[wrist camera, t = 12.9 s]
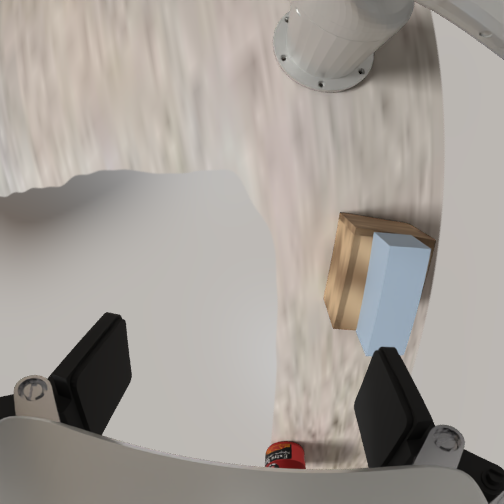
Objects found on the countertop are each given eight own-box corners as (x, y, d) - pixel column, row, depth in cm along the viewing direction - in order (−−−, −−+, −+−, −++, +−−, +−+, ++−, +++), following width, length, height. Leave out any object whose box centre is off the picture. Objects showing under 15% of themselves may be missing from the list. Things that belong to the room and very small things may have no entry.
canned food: (287, 435, 52) (288, 481, 42) (312, 451, 54) (316, 495, 43) (257, 450, 54) (254, 494, 44) (282, 465, 56) (282, 507, 45)
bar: (373, 231, 32) (389, 245, 27) (411, 235, 32) (431, 249, 27) (355, 331, 35) (365, 356, 31) (390, 331, 35) (403, 354, 30)
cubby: (339, 212, 39) (355, 227, 32) (409, 223, 39) (436, 240, 31) (323, 298, 43) (333, 328, 35) (388, 304, 43) (408, 333, 35)
